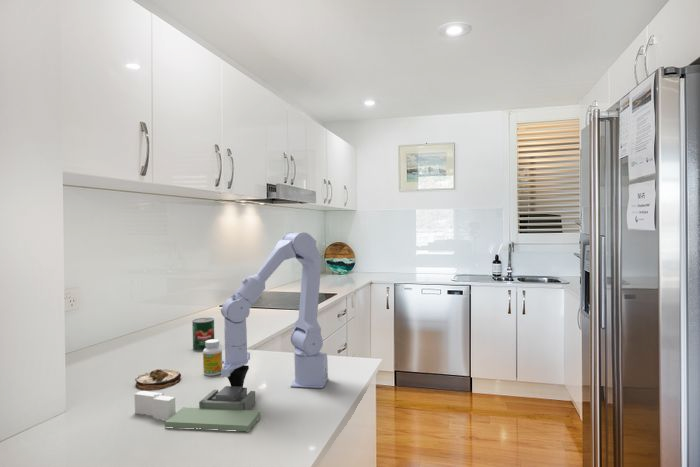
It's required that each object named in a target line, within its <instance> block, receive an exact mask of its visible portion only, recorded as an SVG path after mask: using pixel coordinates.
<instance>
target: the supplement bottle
mask: <svg viewBox="0 0 700 467" xmlns="http://www.w3.org/2000/svg"><path fill="white" fill-rule="evenodd" d="M205 346H206V348H205V349H204V350H203V353H202V360H203V362H202V363H203V364H202V366H203V375H204V376H210V377H211V376H212V377H213V376H217V375H221V369H222V368H223V364H222V363H221V361H222V360H223V350H222V347H220V340H219V339H217V338H216V339H215V338H214V339H211V340H207V341H205Z"/></svg>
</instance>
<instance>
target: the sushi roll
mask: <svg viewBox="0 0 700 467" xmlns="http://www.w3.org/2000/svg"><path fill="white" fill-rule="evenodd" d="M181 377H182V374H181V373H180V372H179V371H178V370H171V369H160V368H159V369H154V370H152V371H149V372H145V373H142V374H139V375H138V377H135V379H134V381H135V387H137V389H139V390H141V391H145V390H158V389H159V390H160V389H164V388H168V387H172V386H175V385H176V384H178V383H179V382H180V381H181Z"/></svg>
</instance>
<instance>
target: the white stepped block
mask: <svg viewBox="0 0 700 467" xmlns="http://www.w3.org/2000/svg"><path fill="white" fill-rule="evenodd" d="M134 413H135V414H137V413H139V414H138V415H143V414H146V415H145V416H150V415H153V416H152V418H153V417H154V418H158V419H157V420H159V419H164V420H163V421H165V420H168V419H169V418H170V417H172V416H173V415H174V414H175V413H177V411H176V397H175V396H171V395H170V396H168V395H164V392H163V393H162V392H155V391H149V390H140V391H137V392H135V393H134ZM154 418H153V419H154Z"/></svg>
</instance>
